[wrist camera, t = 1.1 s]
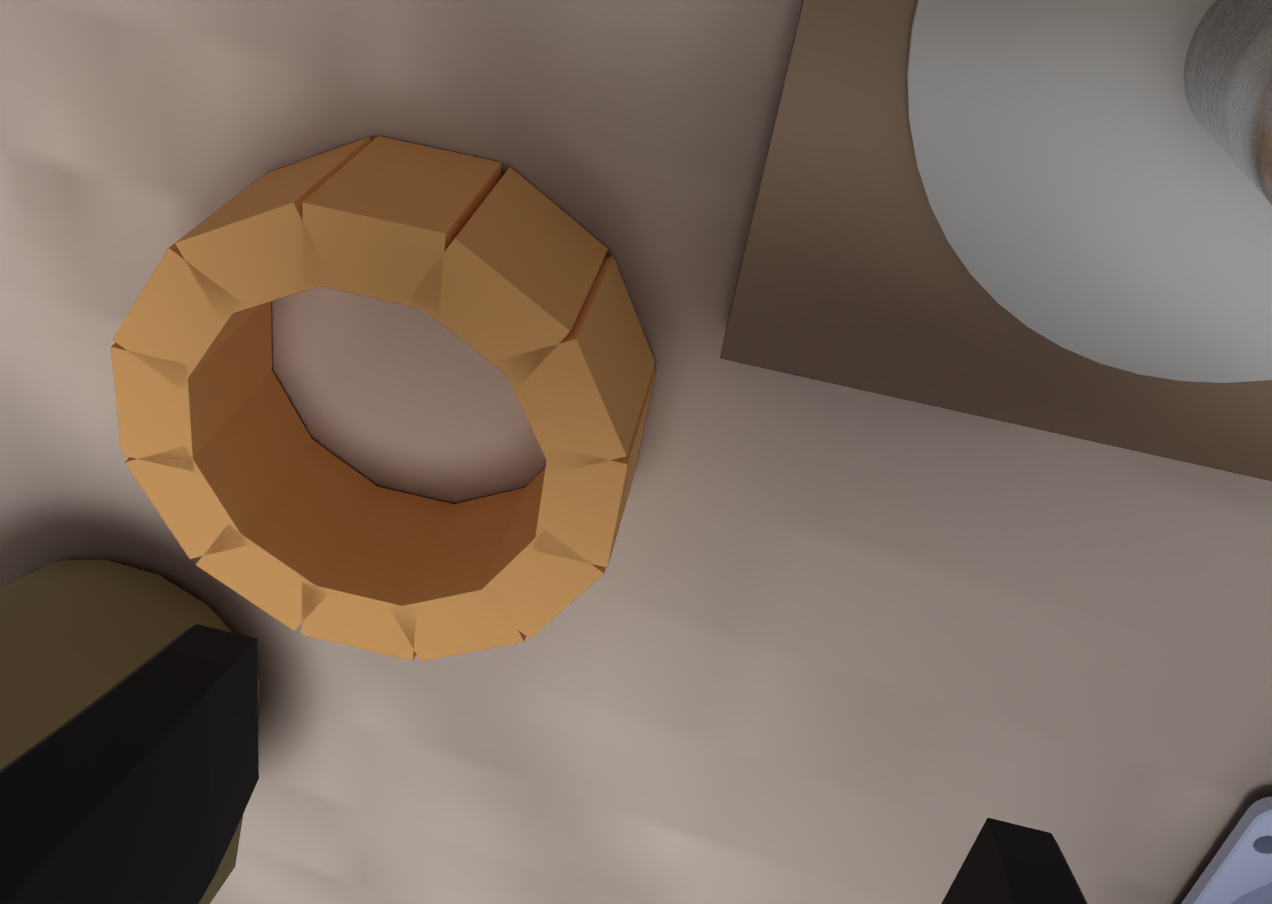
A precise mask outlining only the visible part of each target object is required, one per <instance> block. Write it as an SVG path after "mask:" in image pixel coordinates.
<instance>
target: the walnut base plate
mask: <svg viewBox="0 0 1272 904" xmlns="http://www.w3.org/2000/svg"><path fill="white" fill-rule="evenodd" d="M1215 1H1216V0H803V3H802V7H801V12H800V16H799V20H798V24H797V29H796V33H795V37H794V41H793V46H792V50H791V54H790V58H789V63H788V67H787V71H786V76H785V80H784V84H783V88H782V93H781V97H780V101H779V105H778V110H777V114H776V118H775V122H774V127H773V131H772V135H771V140H770V144H769V148H768V152H767V157H766V161H765V165H764V169H763V174H762V178H761V182H760V186H759V191H758V195H757V199H756V204H755V208H754V212H753V216H752V221H751V225H750V229H749V233H748V238H747V242H746V246H745V251H744V255H743V259H742V263H741V268H740V272H739V276H738V280H737V285H736V289H735V293H734V297H733V302H732V306H731V310H730V315H729V319H728V323H727V327H726V332H725V337H724V342H723V346H722V351H721V356H720V358H721V359H726V360H730V361H735V362H739V363H743V364H748V365H752V366H757V367H761V368H766V369H770V370H775V371H779V372H784V373H788V374H793V375H797V376H802V377H806V378H811V379H815V380H820V381H824V382H829V383H833V384H838V385H842V386H847V387H851V388H856V389H860V390H865V391H869V392H874V393H878V394H883V395H887V396H892V397H896V398H901V399H905V400H910V401H914V402H919V403H923V404H928V405H932V406H937V407H941V408H946V409H950V410H955V411H959V412H964V413H968V414H973V415H977V416H982V417H986V418H991V419H995V420H1000V421H1004V422H1009V423H1013V424H1018V425H1022V426H1026V427H1031V428H1035V429H1040V430H1044V431H1049V432H1053V433H1058V434H1062V435H1067V436H1071V437H1076V438H1080V439H1085V440H1089V441H1094V442H1098V443H1103V444H1107V445H1112V446H1116V447H1121V448H1125V449H1130V450H1134V451H1139V452H1143V453H1148V454H1152V455H1157V456H1161V457H1166V458H1170V459H1175V460H1179V461H1184V462H1188V463H1193V464H1197V465H1202V466H1206V467H1211V468H1215V469H1220V470H1224V471H1229V472H1233V473H1238V474H1242V475H1247V476H1251V477H1256V478H1260V479H1265V480H1269V481H1272V205H1271V204H1270V203H1269V202H1268V201H1267V199H1266V198H1265V197H1264V196H1263V195H1262V194H1261V193H1260V192H1259V190H1258V189H1257V188H1256V187H1255V186H1254V185H1253V184H1252V182H1251V181H1250V180H1249V179H1248V178H1247V177H1246V176H1245V174H1244V173H1243V172H1242V171H1241V170H1240V169H1239V168H1238V166H1237V165H1236V164H1235V163H1234V162H1233V161H1232V160H1231V158H1230V157H1229V156H1228V155H1227V154H1226V153H1225V152H1224V151H1223V149H1222V148H1221V147H1220V146H1219V145H1218V144H1217V143H1216V141H1215V140H1214V139H1213V138H1212V137H1211V136H1210V135H1209V133H1208V132H1207V131H1206V130H1205V129H1204V128H1203V126H1202V125H1201V124H1200V123H1199V122H1198V120H1197V119H1196V117H1195V115H1194V114H1193V112H1192V110H1191V108H1190V105H1189V103H1188V100H1187V96H1186V91H1185V83H1184V70H1185V61H1186V56H1187V52H1188V48H1189V45H1190V43H1191V40H1192V37H1193V35H1194V33H1195V31H1196V29H1197V27H1198V25H1199V23H1200V21H1201V20H1202V18H1203V17H1204V15H1205V14H1206V12H1207V11H1208V10H1209V8H1210V7H1211V6H1212V5H1213V3H1214V2H1215Z"/></svg>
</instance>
